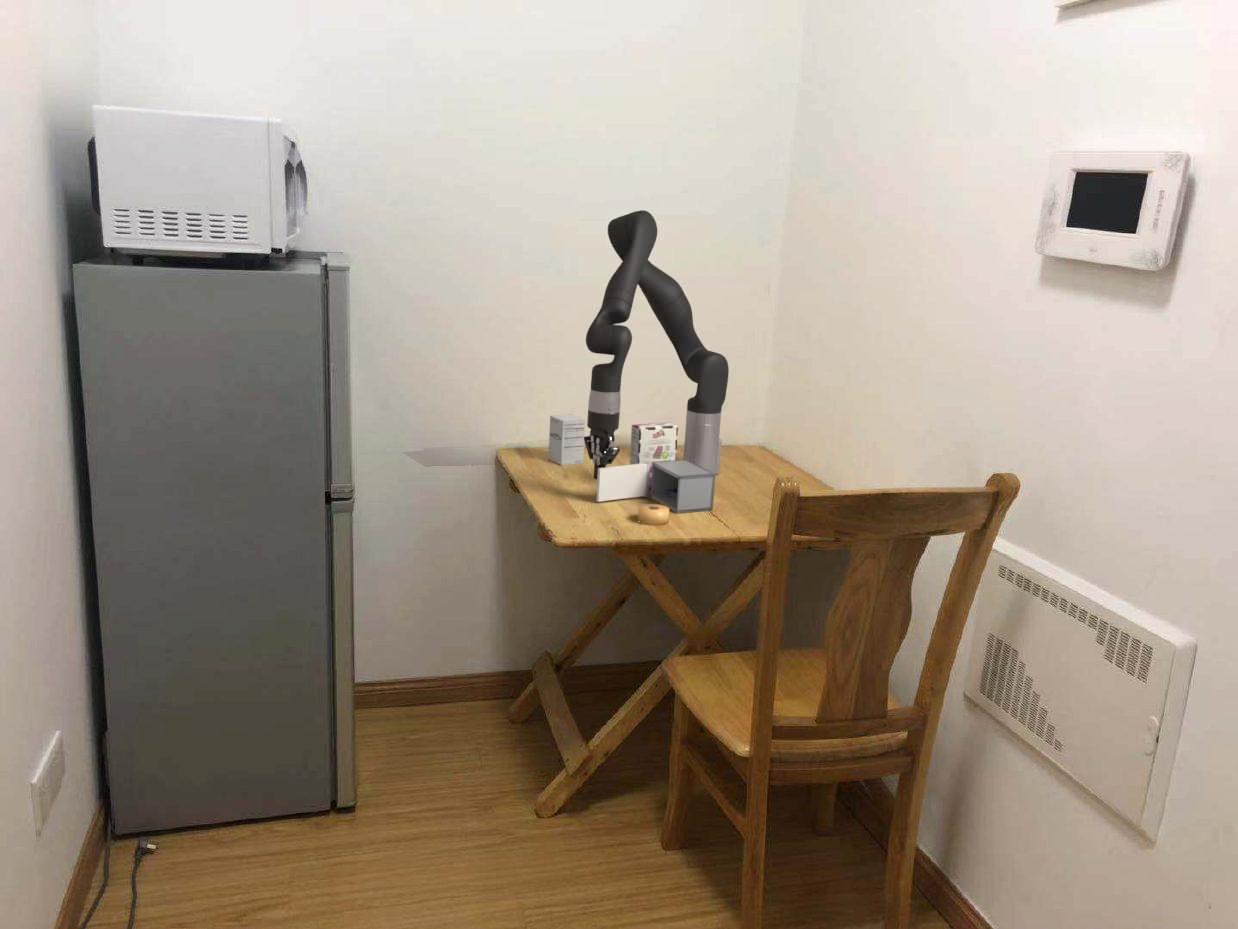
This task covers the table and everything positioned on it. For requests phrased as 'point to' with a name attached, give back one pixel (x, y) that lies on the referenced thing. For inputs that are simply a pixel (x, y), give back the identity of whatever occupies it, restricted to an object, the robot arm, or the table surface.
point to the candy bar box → (653, 443)
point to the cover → (623, 482)
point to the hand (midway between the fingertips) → (599, 479)
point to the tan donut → (653, 514)
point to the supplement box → (566, 439)
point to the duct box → (682, 486)
